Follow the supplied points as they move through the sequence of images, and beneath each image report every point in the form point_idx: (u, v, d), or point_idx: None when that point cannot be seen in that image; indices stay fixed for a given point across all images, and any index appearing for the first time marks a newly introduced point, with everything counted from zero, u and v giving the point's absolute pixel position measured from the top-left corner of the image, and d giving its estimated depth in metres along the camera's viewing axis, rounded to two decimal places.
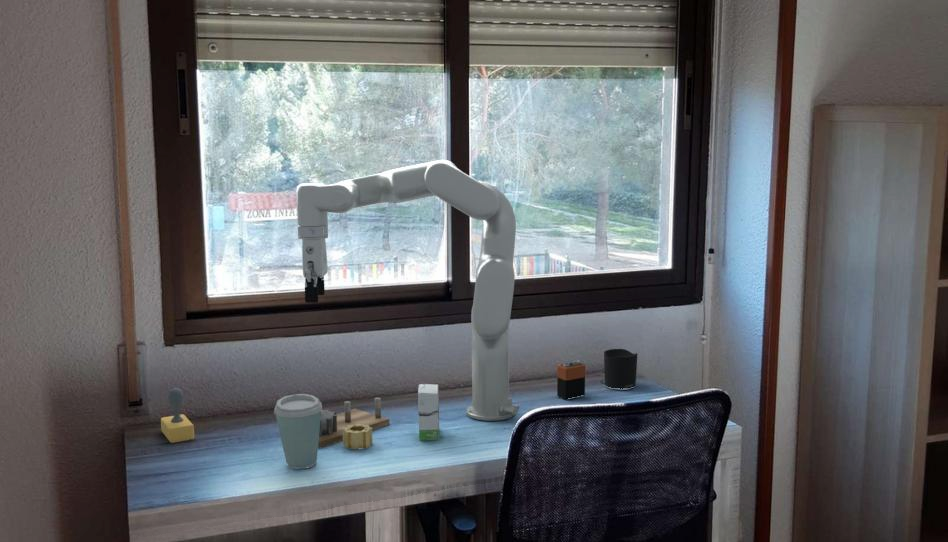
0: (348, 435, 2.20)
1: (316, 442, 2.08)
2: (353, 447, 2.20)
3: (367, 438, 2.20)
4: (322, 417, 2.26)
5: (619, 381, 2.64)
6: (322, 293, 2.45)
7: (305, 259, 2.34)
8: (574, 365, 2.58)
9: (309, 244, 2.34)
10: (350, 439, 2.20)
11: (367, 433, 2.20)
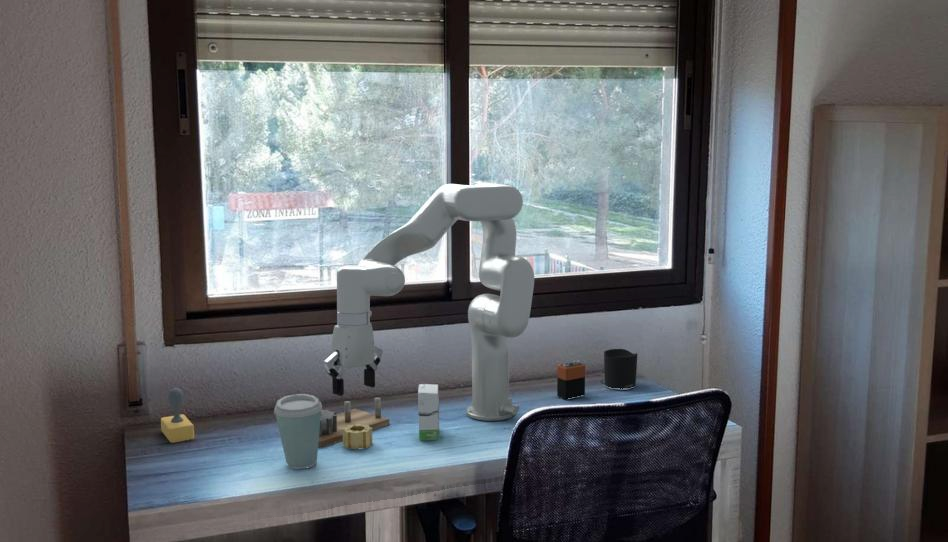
0: (348, 435, 2.20)
1: (316, 442, 2.08)
2: (353, 447, 2.20)
3: (367, 438, 2.20)
4: (322, 417, 2.26)
5: (619, 381, 2.64)
6: None
7: None
8: (574, 365, 2.58)
9: None
10: (350, 439, 2.20)
11: (367, 433, 2.20)
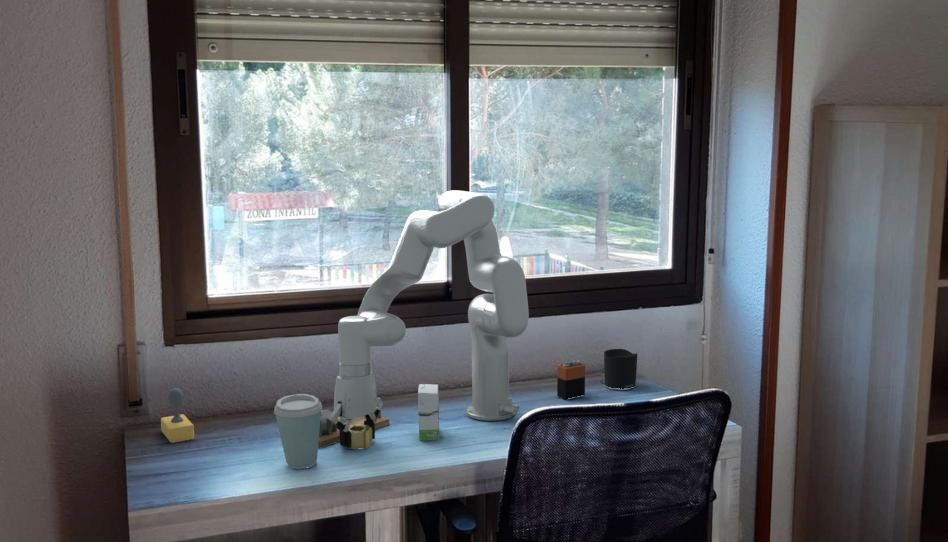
0: None
1: (316, 442, 2.08)
2: (353, 447, 2.20)
3: (367, 438, 2.20)
4: (322, 417, 2.26)
5: (619, 381, 2.64)
6: None
7: None
8: (574, 365, 2.58)
9: None
10: None
11: (367, 433, 2.20)
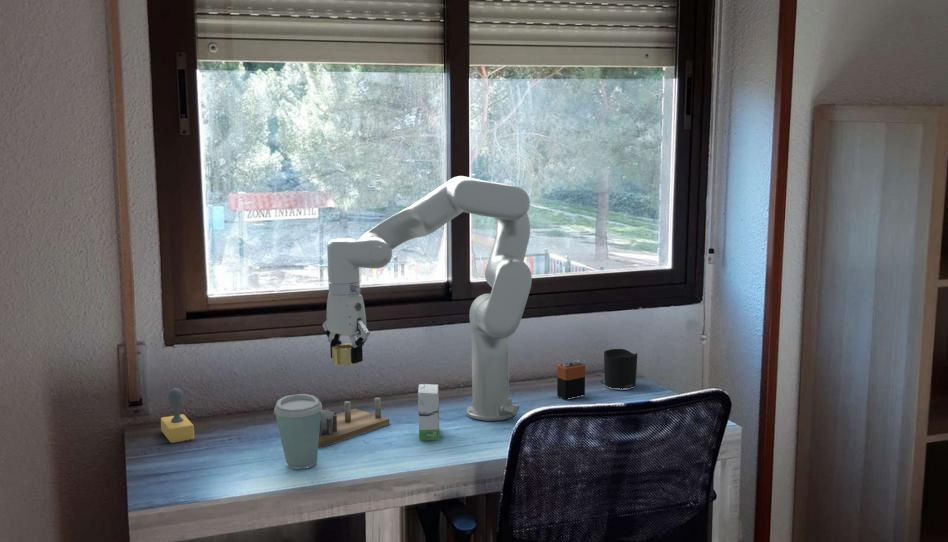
0: None
1: (316, 442, 2.08)
2: None
3: (335, 356, 2.29)
4: (322, 417, 2.26)
5: (619, 381, 2.64)
6: None
7: (354, 317, 2.26)
8: (574, 365, 2.58)
9: (357, 301, 2.27)
10: None
11: (335, 351, 2.29)
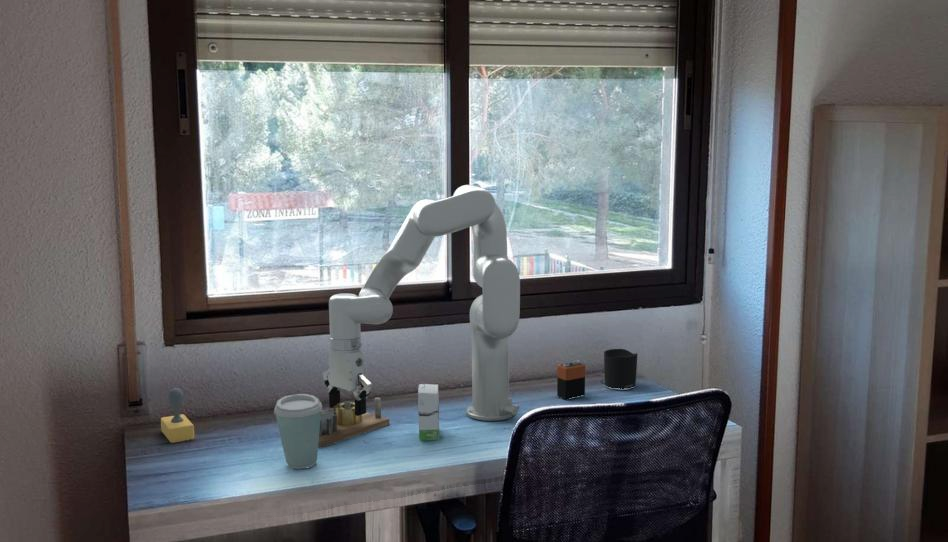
0: None
1: (316, 442, 2.08)
2: None
3: (337, 415, 2.33)
4: (322, 417, 2.26)
5: (619, 381, 2.64)
6: None
7: (355, 372, 2.29)
8: (574, 365, 2.58)
9: (358, 356, 2.30)
10: None
11: (337, 411, 2.32)
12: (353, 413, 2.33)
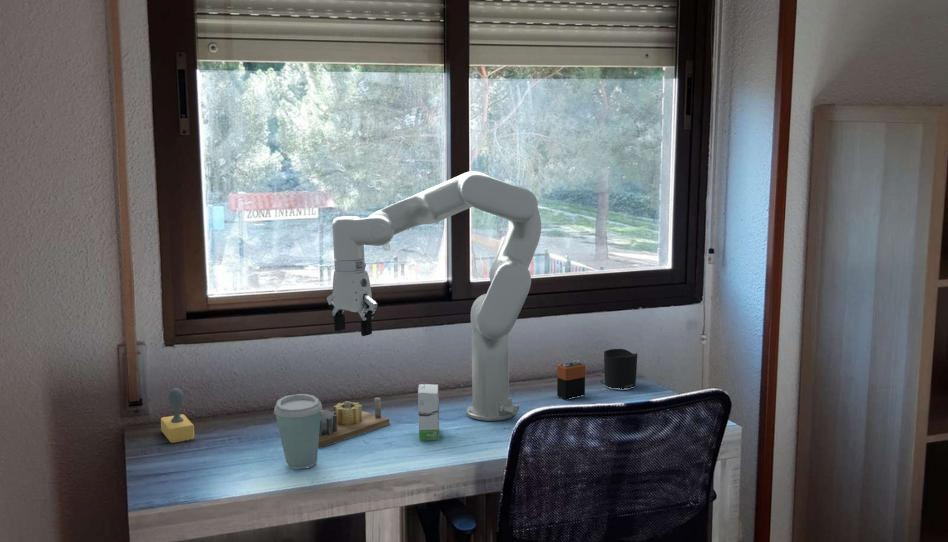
0: None
1: (316, 442, 2.08)
2: None
3: (337, 415, 2.33)
4: (322, 417, 2.26)
5: (619, 381, 2.64)
6: (344, 327, 2.41)
7: (361, 293, 2.32)
8: (574, 365, 2.58)
9: (362, 277, 2.32)
10: None
11: (337, 411, 2.32)
12: (353, 413, 2.33)
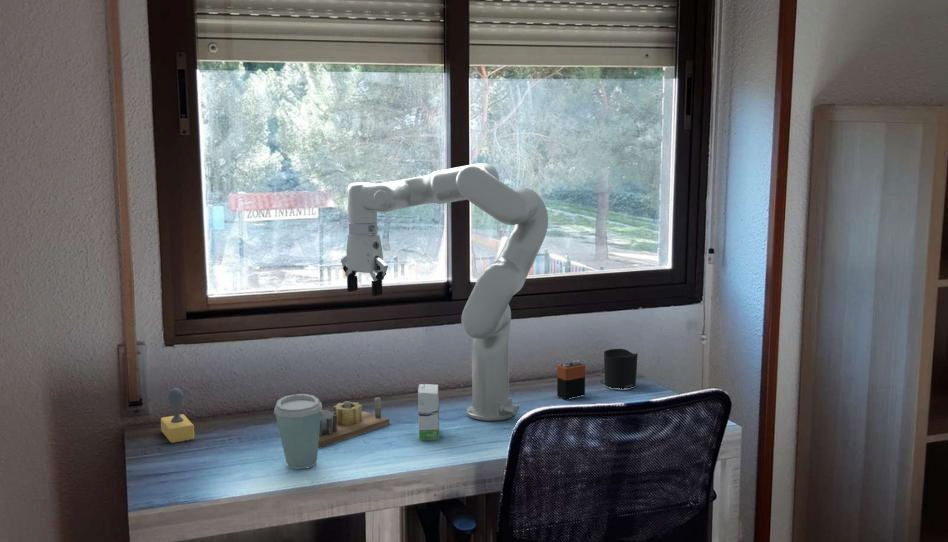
0: None
1: (316, 442, 2.08)
2: None
3: (337, 415, 2.33)
4: (322, 417, 2.26)
5: (619, 381, 2.64)
6: (356, 288, 2.55)
7: (372, 254, 2.45)
8: (574, 365, 2.58)
9: (375, 240, 2.45)
10: None
11: (337, 411, 2.32)
12: (353, 413, 2.33)
